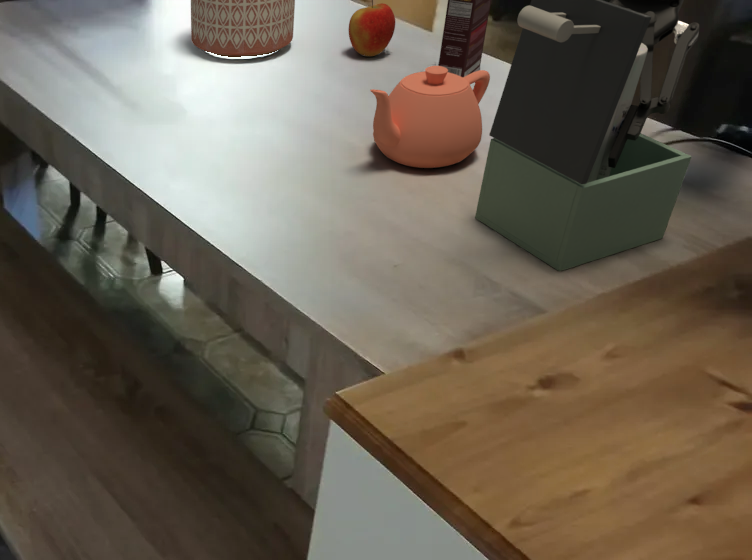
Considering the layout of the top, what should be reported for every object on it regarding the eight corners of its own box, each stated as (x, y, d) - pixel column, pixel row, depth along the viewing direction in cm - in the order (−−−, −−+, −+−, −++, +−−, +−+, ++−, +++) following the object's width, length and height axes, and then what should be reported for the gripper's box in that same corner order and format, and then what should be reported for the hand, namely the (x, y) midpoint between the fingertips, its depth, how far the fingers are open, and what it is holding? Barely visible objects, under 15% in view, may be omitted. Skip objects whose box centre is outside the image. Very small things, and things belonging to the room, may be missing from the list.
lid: (542, -20, 104) (495, -20, 102) (651, 16, 93) (601, 18, 91) (493, 135, 115) (449, 138, 112) (586, 184, 104) (540, 189, 102)
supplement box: (453, 66, 163) (469, -32, 153) (480, 70, 161) (498, -29, 150) (433, 82, 158) (449, -19, 148) (460, 87, 156) (478, -15, 145)
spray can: (544, 194, 121) (584, 35, 107) (597, 199, 119) (645, 38, 106) (544, 218, 116) (587, 54, 103) (600, 223, 114) (651, 57, 101)
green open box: (572, 189, 127) (593, 111, 120) (662, 238, 116) (692, 156, 109) (474, 217, 122) (490, 138, 115) (559, 271, 112) (582, 188, 104)
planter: (239, 23, 186) (241, -59, 176) (313, 43, 175) (319, -42, 165) (170, 48, 177) (168, -37, 167) (243, 71, 166) (245, -18, 156)
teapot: (395, 192, 129) (407, 104, 121) (328, 154, 139) (335, 70, 131) (512, 153, 136) (531, 68, 128) (441, 120, 146) (454, 39, 138)
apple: (365, 65, 166) (372, 5, 159) (337, 52, 171) (342, -6, 164) (400, 55, 168) (408, -3, 162) (372, 43, 174) (378, -14, 167)
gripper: (746, 1, 107) (665, 187, 109) (575, -21, 116) (502, 152, 118) (755, -38, 101) (669, 161, 102) (573, -57, 110) (496, 126, 111)
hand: (580, 155), depth 110 cm, fingers closed on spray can, 6 cm apart
